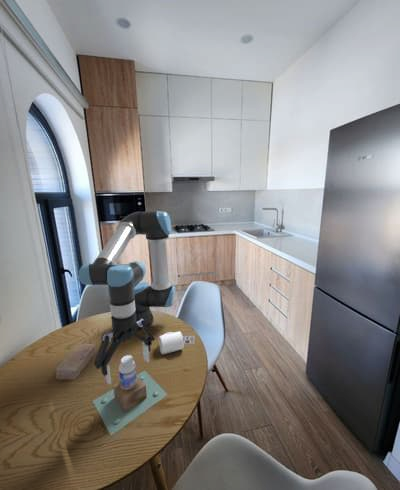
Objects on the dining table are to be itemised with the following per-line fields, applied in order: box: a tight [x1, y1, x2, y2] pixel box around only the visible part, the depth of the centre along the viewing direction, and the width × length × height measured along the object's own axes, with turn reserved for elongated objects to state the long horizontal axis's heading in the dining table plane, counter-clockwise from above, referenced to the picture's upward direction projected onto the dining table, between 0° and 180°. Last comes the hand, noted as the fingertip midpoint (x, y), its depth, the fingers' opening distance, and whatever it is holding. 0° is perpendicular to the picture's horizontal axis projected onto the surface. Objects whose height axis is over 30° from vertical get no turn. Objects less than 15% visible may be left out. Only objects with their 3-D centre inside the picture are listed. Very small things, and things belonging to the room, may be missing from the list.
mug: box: [158, 331, 185, 355], centre depth 103 cm, size 12×10×8 cm
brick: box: [55, 343, 97, 381], centre depth 93 cm, size 17×8×5 cm, turn 179°
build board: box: [92, 370, 168, 437], centre depth 75 cm, size 20×16×2 cm
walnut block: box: [113, 374, 147, 413], centre depth 75 cm, size 8×8×5 cm
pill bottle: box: [118, 354, 137, 390], centre depth 74 cm, size 5×5×10 cm
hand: (128, 370), depth 74 cm, fingers open, 13 cm apart
